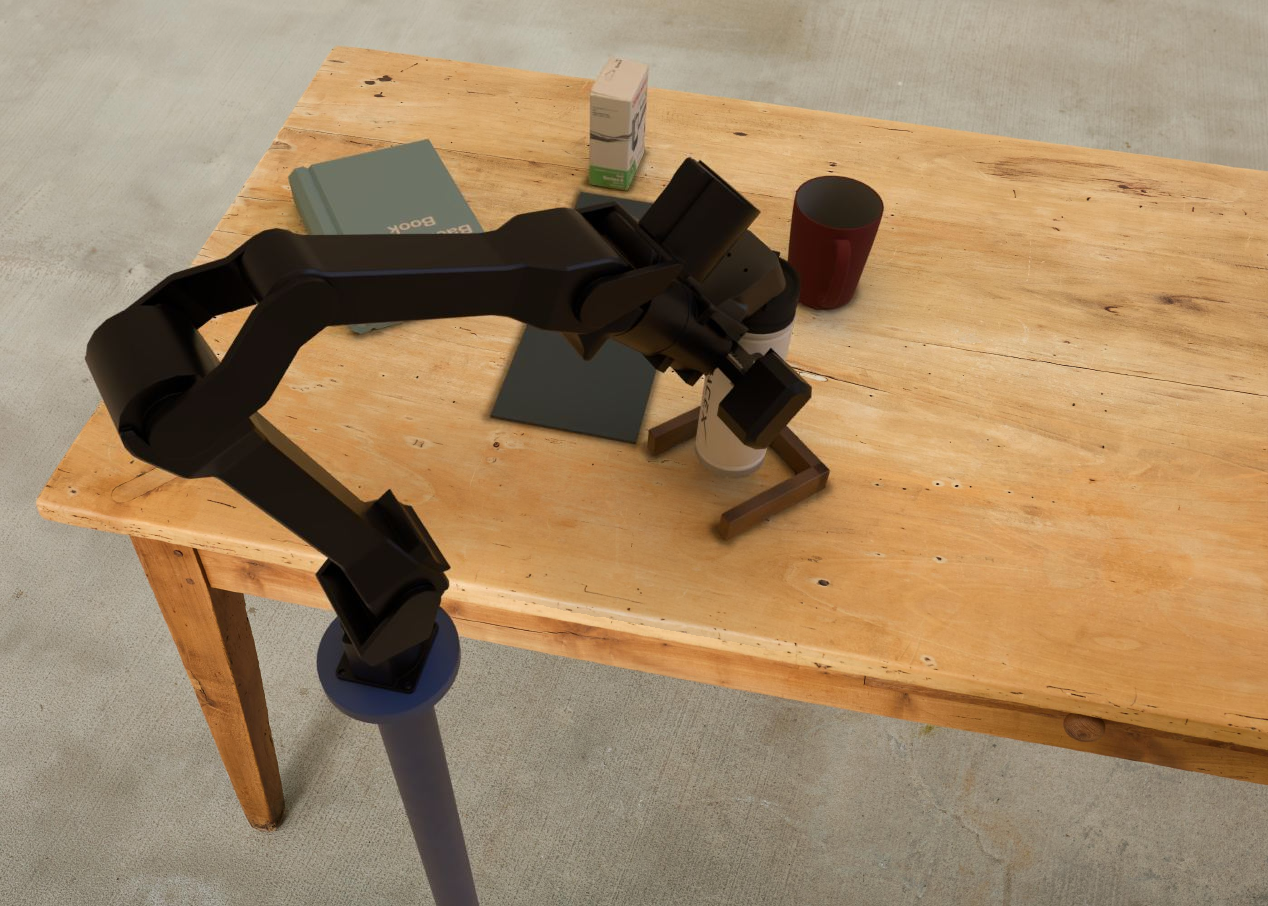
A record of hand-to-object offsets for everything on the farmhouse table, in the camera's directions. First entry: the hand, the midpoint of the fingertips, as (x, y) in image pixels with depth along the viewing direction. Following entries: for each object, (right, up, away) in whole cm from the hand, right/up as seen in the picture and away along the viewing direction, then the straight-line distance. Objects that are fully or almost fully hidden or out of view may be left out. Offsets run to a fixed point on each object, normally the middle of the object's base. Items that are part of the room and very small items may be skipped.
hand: (756, 369), depth 87 cm
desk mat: (-13, +9, +23) cm, 28 cm away
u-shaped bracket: (-1, -8, +9) cm, 12 cm away
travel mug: (-2, -7, +7) cm, 10 cm away
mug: (+10, +10, +25) cm, 29 cm away
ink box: (-12, +27, +39) cm, 49 cm away
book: (-36, +15, +27) cm, 48 cm away
